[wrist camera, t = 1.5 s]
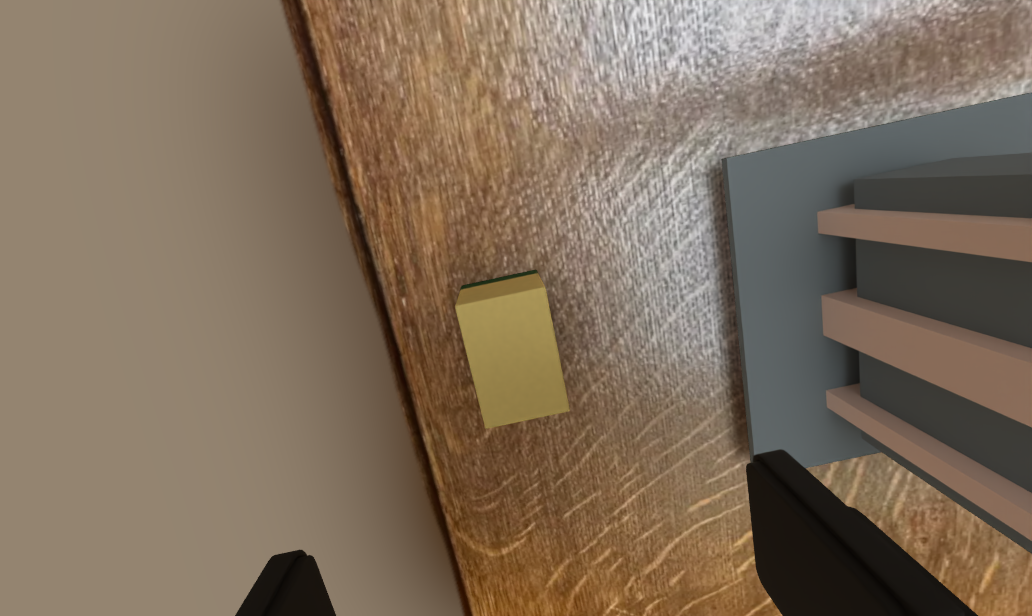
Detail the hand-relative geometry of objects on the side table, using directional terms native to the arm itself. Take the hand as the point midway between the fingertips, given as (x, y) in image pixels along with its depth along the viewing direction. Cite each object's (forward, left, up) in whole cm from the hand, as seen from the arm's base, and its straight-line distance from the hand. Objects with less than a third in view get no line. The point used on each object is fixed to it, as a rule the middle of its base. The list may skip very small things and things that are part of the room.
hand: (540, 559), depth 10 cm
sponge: (0, 0, -16) cm, 16 cm away
